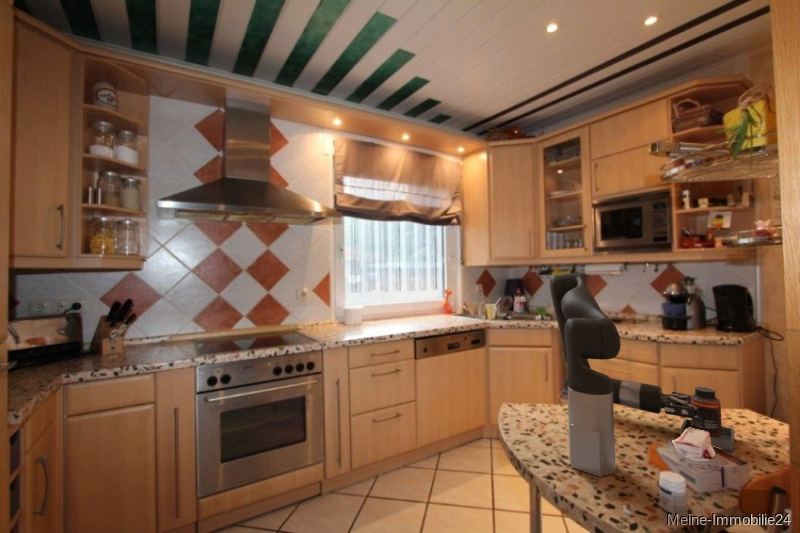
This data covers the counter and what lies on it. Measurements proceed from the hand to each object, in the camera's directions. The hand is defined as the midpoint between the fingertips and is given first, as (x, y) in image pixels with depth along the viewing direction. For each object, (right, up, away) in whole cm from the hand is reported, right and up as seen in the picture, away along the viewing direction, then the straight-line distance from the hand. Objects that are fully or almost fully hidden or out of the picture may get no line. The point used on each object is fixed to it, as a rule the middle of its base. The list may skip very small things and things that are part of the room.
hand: (718, 411), depth 90 cm
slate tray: (-2, -8, +2) cm, 8 cm away
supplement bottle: (-2, -6, +2) cm, 7 cm away
